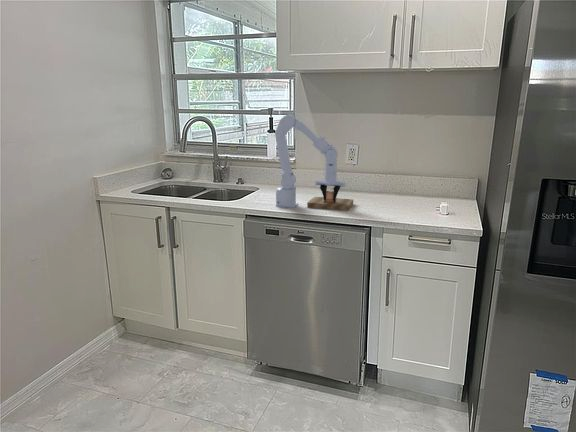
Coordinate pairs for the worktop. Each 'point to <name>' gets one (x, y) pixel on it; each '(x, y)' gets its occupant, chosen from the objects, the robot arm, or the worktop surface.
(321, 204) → the socket board
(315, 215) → the worktop surface
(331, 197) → the dowel
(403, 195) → the worktop surface
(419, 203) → the worktop surface
